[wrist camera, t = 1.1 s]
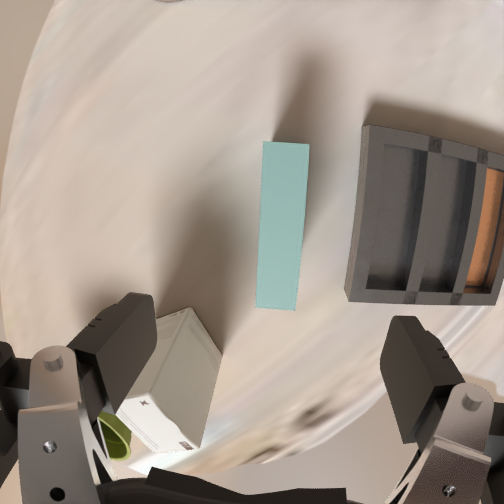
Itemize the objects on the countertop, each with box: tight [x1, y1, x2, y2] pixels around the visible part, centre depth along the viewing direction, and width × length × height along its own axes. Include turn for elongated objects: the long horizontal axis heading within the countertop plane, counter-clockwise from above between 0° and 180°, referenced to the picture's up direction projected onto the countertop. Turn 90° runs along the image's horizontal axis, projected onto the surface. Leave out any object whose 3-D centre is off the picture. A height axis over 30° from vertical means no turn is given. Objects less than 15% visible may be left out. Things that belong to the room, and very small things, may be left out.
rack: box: [344, 125, 504, 305], centre depth 28 cm, size 17×20×3 cm
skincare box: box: [115, 307, 222, 453], centre depth 30 cm, size 8×6×15 cm
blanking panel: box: [255, 141, 310, 311], centre depth 26 cm, size 12×3×10 cm, turn 178°
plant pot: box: [98, 411, 132, 461], centre depth 36 cm, size 12×12×11 cm
